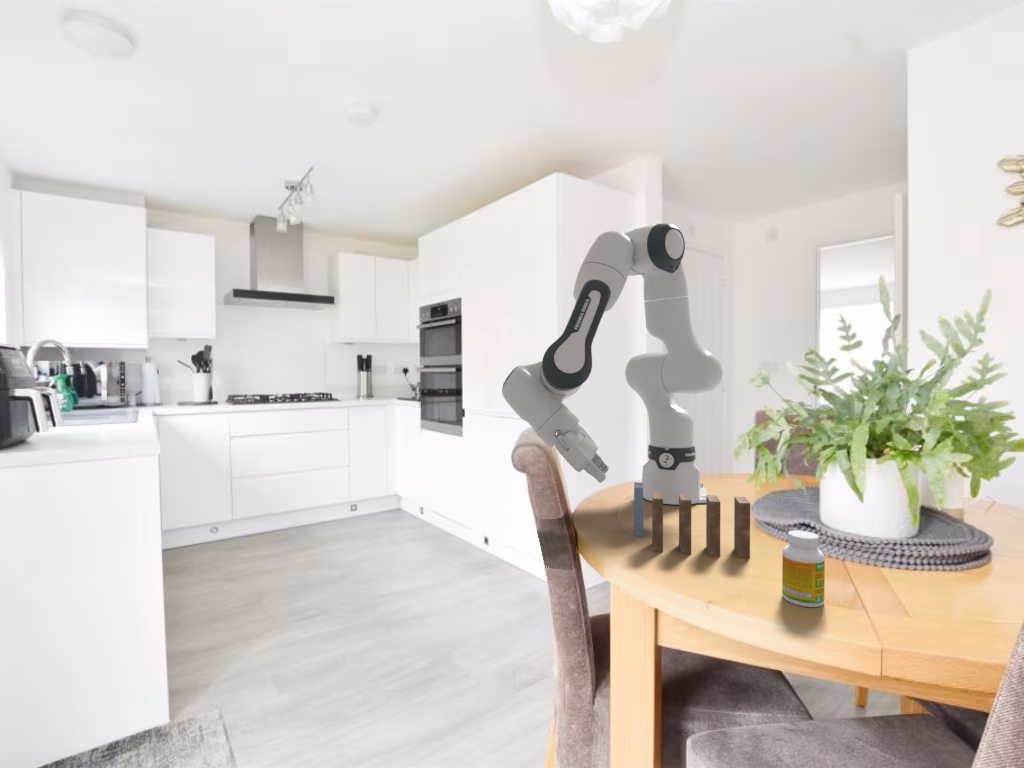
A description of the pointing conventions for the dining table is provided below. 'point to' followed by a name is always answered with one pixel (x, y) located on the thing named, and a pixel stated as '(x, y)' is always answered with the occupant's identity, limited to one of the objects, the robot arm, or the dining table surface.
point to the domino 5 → (742, 527)
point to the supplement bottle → (803, 570)
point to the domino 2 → (657, 522)
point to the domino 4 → (713, 525)
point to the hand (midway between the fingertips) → (605, 475)
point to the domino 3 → (685, 523)
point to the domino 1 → (638, 509)
